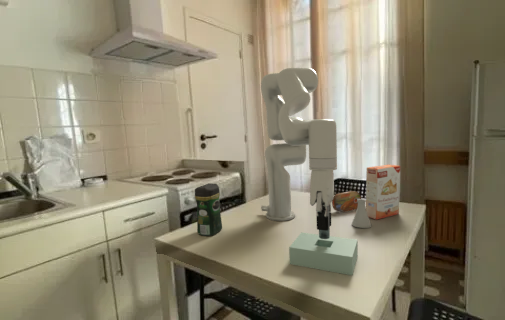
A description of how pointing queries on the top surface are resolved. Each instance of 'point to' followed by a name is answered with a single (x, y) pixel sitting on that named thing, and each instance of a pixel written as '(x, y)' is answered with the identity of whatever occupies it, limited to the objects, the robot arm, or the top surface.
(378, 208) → the cracker box
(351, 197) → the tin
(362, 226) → the flask
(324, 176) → the robot arm
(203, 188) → the coffee jar
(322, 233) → the peg
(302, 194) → the top surface
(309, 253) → the green block with hole
